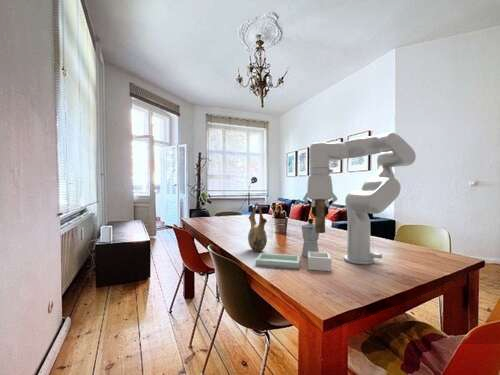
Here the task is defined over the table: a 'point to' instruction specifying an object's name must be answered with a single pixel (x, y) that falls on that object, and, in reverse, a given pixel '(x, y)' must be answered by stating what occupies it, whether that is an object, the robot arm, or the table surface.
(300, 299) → the table surface
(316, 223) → the dowel
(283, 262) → the tray
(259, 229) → the ceramic vessel
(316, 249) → the coffee maker
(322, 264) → the white square ring
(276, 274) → the table surface
